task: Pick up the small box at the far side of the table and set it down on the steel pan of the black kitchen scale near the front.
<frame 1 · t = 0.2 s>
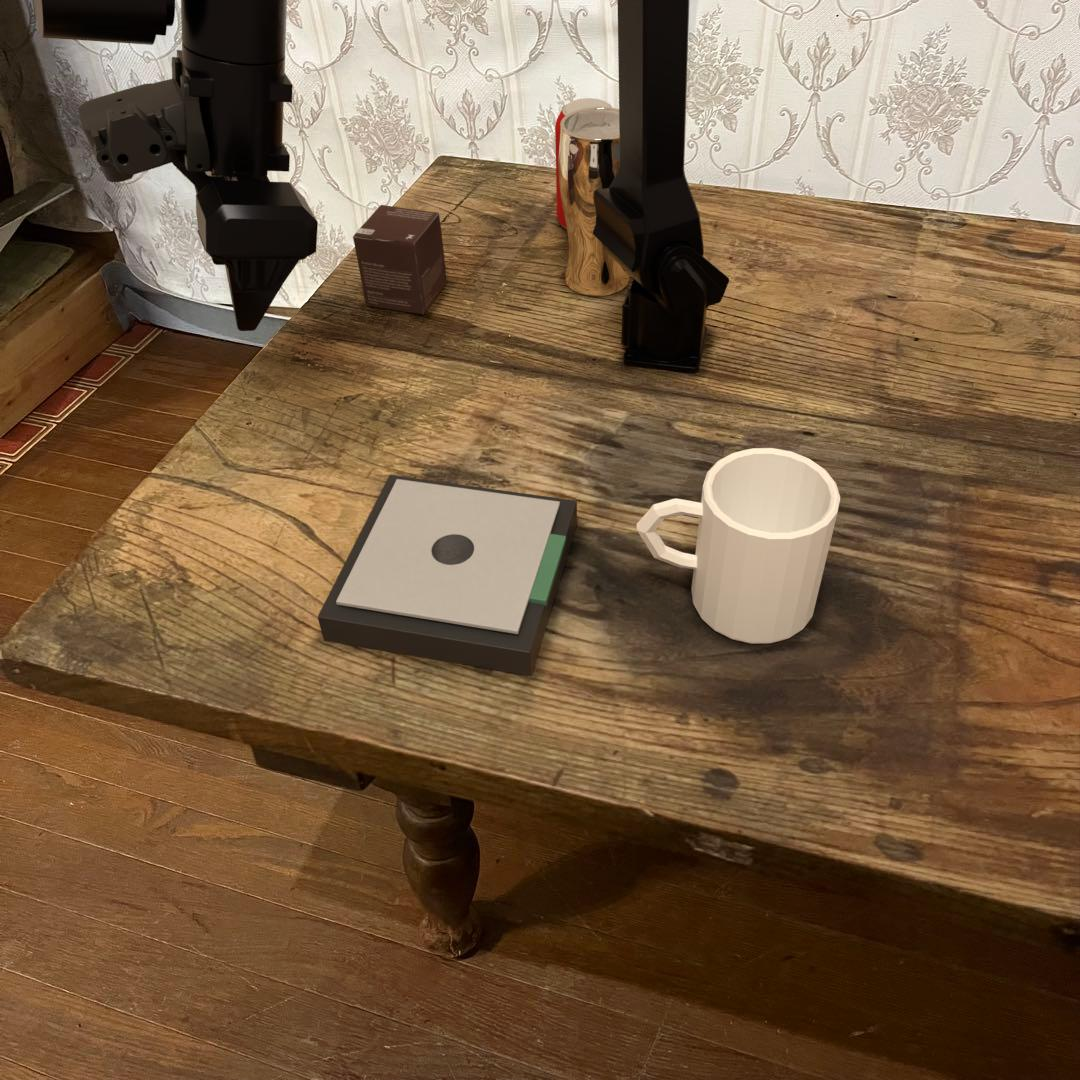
hand: (233, 295, 69), 15 cm above the table, tool pointing down, fingers open, 9 cm apart
scale: (456, 579, 71), on the table
box: (407, 297, 97), on the table
beer glass: (597, 281, 98), on the table
mug: (722, 600, 69), on the table
beverage can: (587, 227, 106), on the table
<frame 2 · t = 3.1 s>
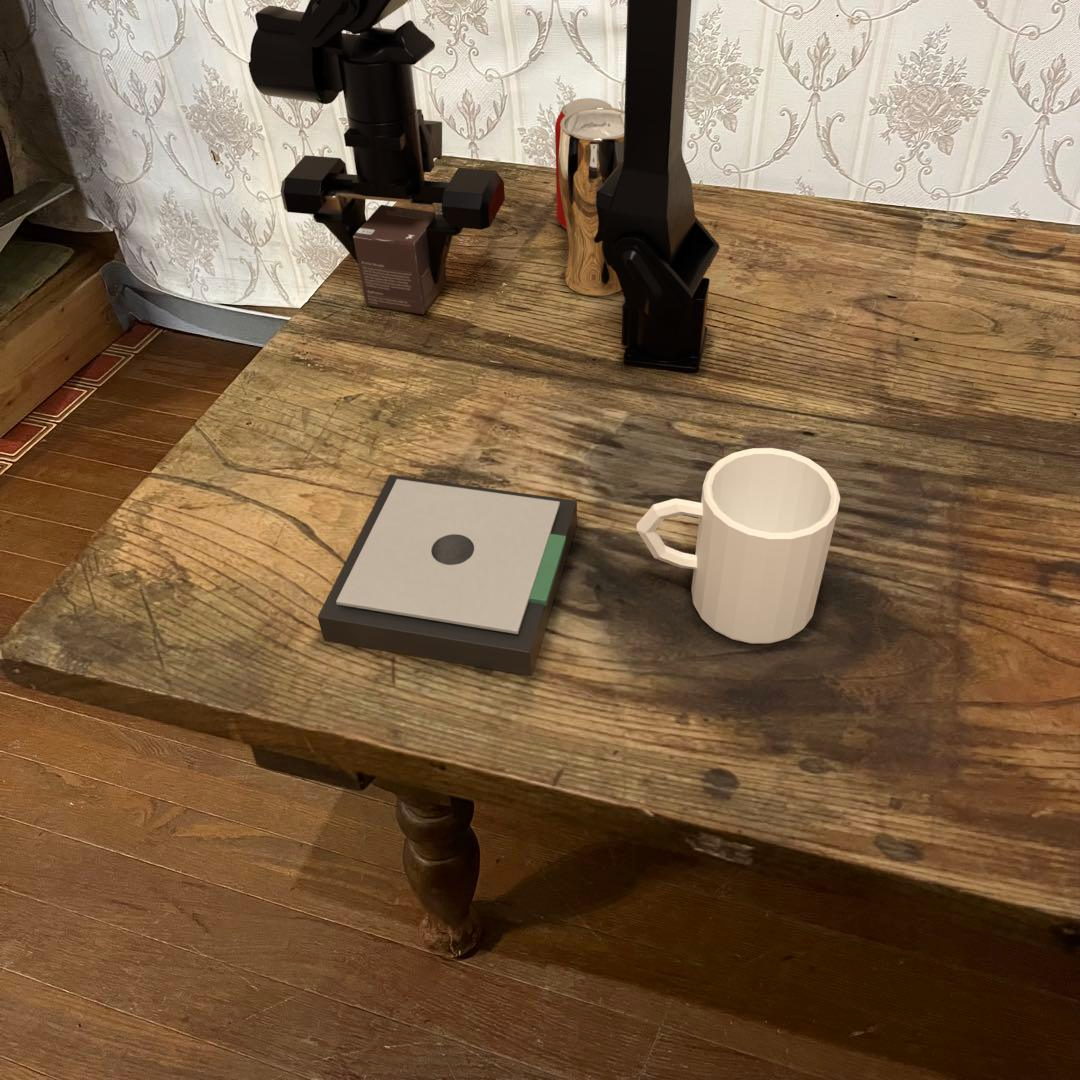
hand: (404, 278, 96), 2 cm above the table, tool pointing down, fingers closed on box, 6 cm apart
box: (407, 297, 97), on the table, touching gripper
everything else where it was.
when the fingers open (5 cm above the table, at t = 9.2 s): box stays where it is, resting on scale.
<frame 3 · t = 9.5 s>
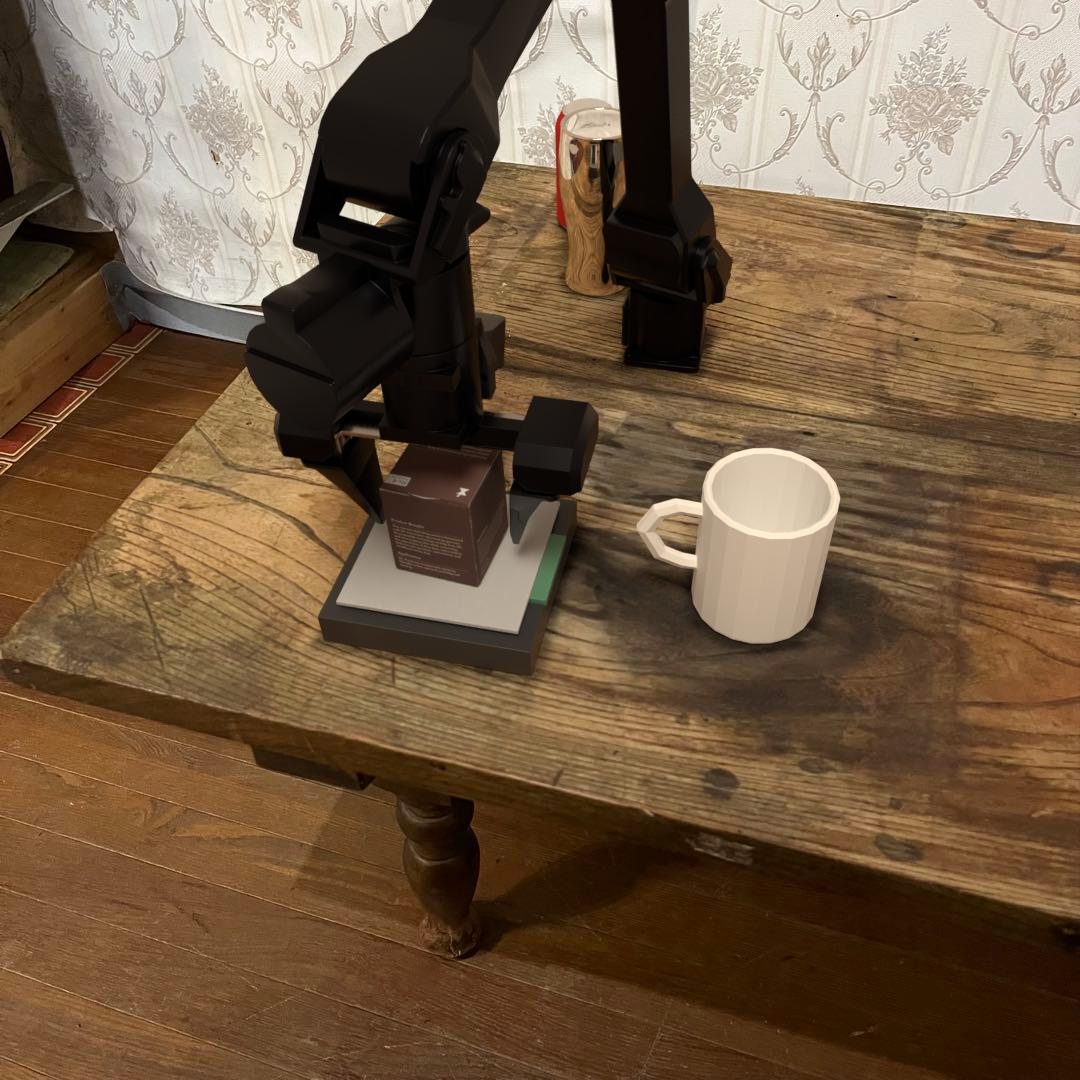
hand: (449, 529, 68), 5 cm above the table, tool pointing down, fingers open, 9 cm apart
box: (453, 550, 69), point 3 cm above the table, touching scale
everything else where it was.
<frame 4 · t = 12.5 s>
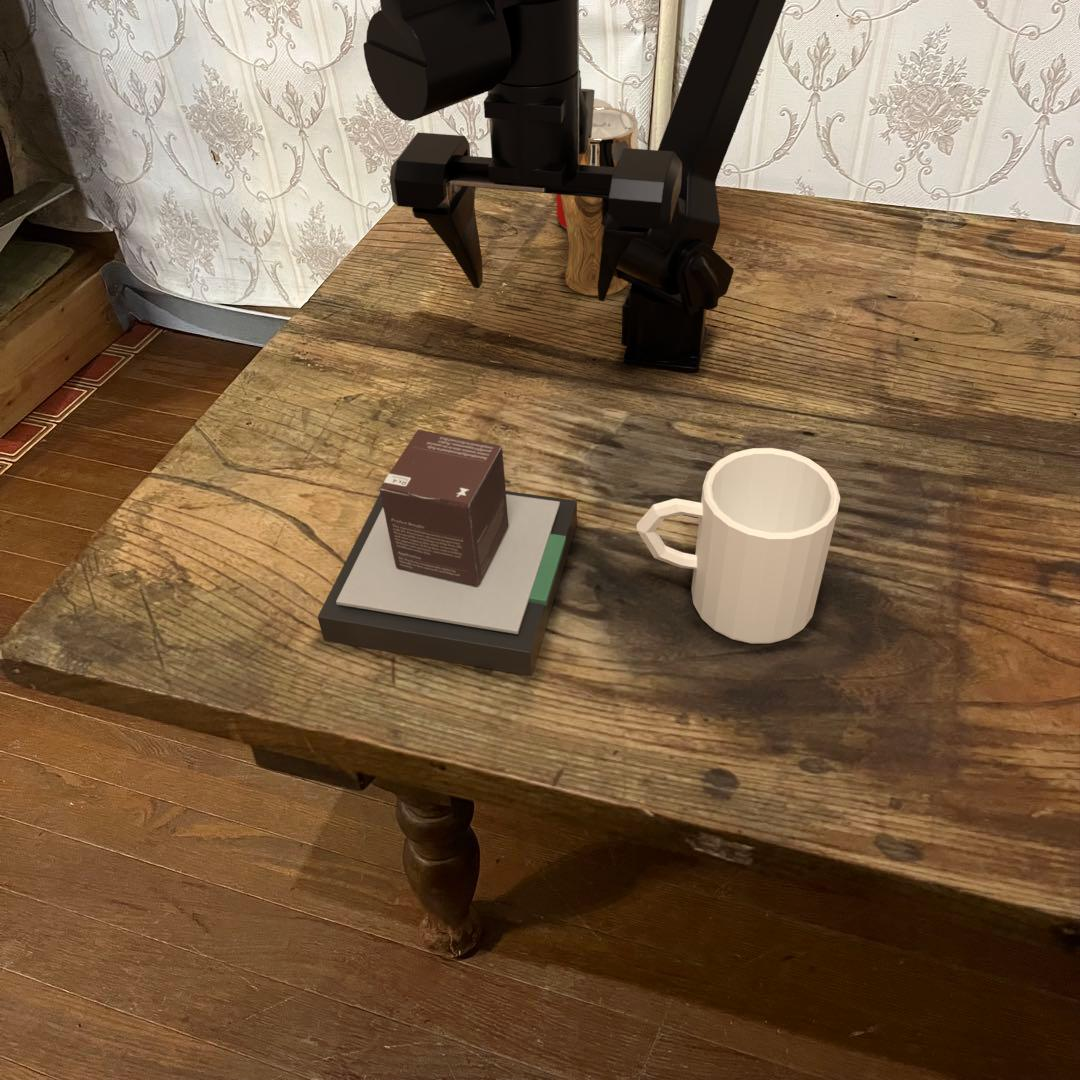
hand: (539, 291, 75), 12 cm above the table, tool pointing down, fingers open, 9 cm apart
nothing on the table moved.
at the end: box inside the target area on the scale (0.1 cm from its centre), point 2.8 cm above the scale's base; box tilted 0°; the gripper is holding nothing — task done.
